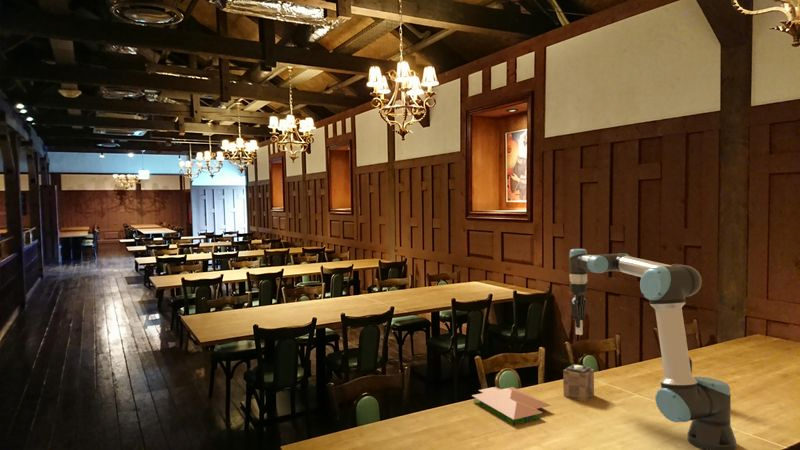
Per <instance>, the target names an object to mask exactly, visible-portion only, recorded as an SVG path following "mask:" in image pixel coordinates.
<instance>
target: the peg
mask: <svg viewBox="0 0 800 450" xmlns="http://www.w3.org/2000/svg"><path fill="white" fill-rule="evenodd" d="M583 366H584V365H581V364H576V365H574V369H579V370H583Z"/></svg>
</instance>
